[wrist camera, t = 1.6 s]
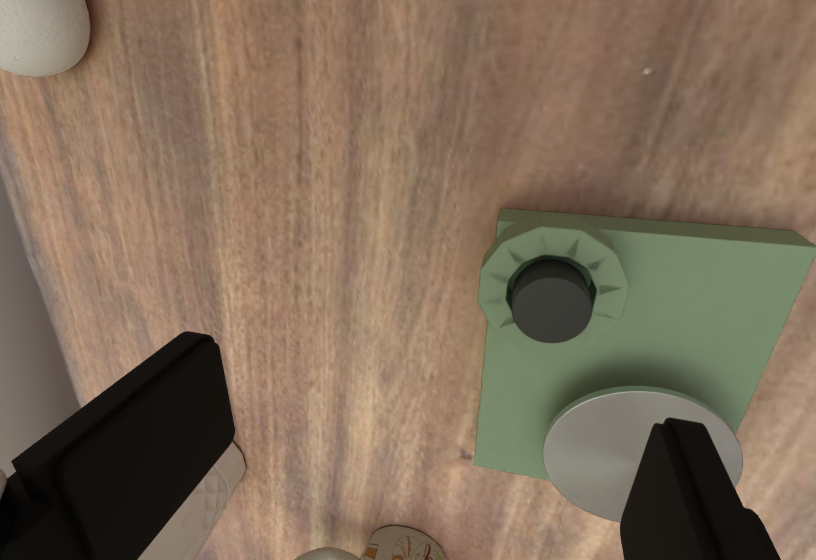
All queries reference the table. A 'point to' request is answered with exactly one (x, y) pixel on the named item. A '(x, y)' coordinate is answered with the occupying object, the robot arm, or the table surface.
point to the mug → (386, 547)
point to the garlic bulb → (42, 35)
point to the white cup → (199, 511)
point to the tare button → (551, 301)
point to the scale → (631, 319)
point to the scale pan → (621, 443)
